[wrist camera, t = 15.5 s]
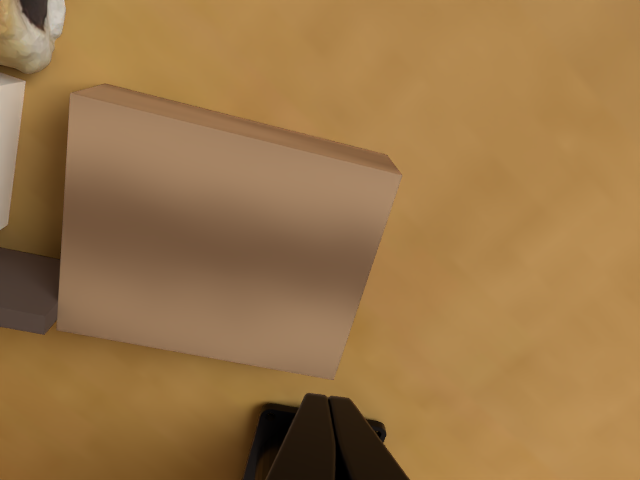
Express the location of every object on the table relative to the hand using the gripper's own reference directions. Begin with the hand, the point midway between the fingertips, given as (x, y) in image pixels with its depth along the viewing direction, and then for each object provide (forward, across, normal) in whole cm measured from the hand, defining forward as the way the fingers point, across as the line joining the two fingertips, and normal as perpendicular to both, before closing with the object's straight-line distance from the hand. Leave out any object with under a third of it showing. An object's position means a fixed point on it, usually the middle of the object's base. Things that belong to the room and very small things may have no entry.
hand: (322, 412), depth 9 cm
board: (+12, +3, +2) cm, 12 cm away
